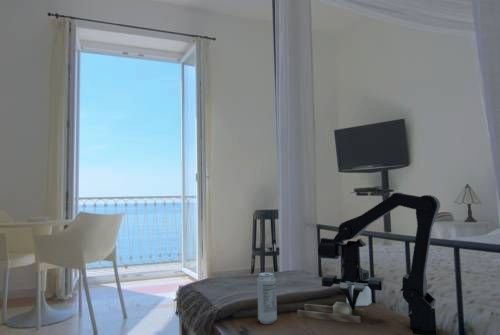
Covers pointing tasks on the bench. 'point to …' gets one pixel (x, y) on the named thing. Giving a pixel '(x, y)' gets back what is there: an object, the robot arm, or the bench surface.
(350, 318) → the chute
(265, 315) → the energy drink can
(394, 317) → the bench surface
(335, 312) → the block
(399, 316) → the bench surface
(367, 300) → the jar
